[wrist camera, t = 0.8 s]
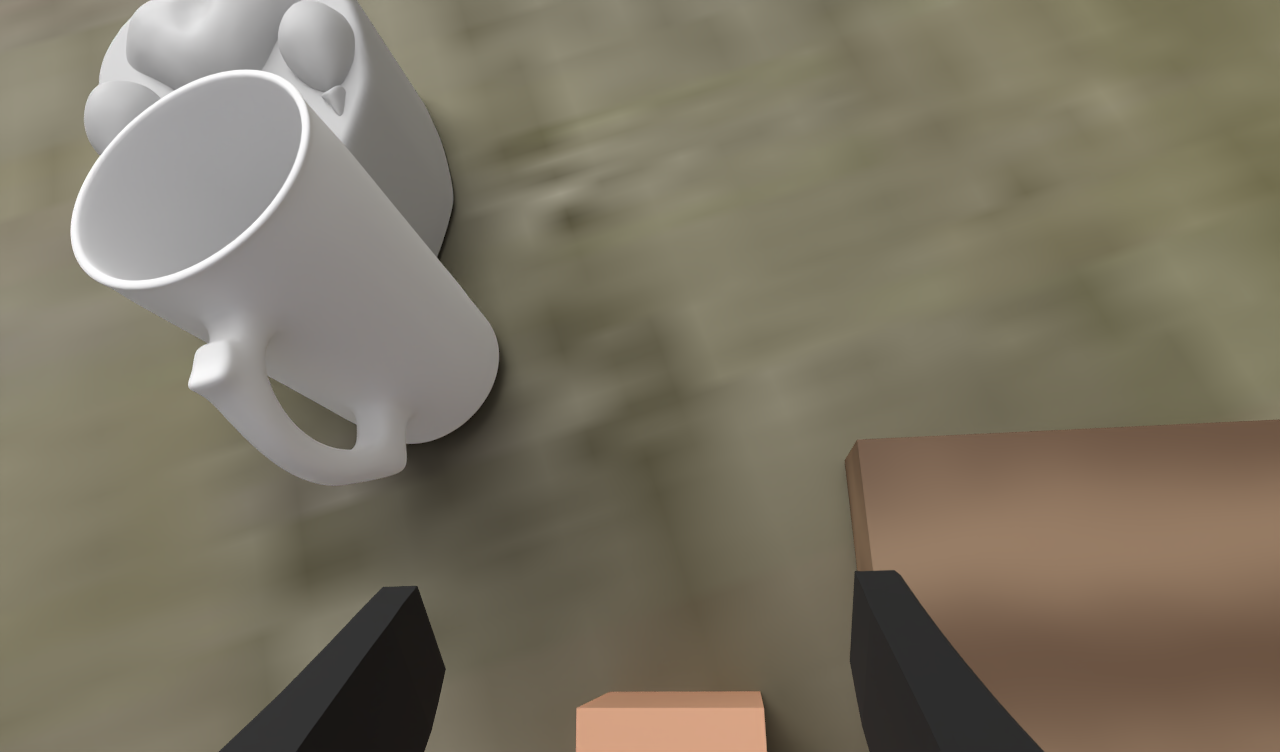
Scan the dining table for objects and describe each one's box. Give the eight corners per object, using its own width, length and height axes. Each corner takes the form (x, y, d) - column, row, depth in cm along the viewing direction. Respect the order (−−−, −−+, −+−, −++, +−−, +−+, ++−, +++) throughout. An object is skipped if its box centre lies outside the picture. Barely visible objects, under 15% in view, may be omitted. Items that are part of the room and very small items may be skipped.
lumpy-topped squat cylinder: (417, 62, 34) (309, -114, 26) (484, 283, 29) (378, 152, 21) (220, 143, 34) (53, -5, 26) (255, 376, 29) (64, 281, 21)
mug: (352, 322, 30) (94, 115, 19) (498, 278, 29) (312, 36, 19) (351, 556, 25) (13, 452, 15) (524, 511, 25) (298, 367, 14)
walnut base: (1450, 959, 19) (1575, 1018, 16) (899, 936, 20) (923, 986, 18) (1280, 441, 23) (1353, 416, 20) (844, 460, 25) (857, 439, 22)
